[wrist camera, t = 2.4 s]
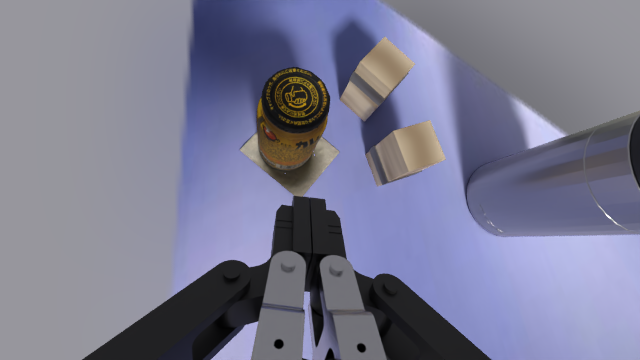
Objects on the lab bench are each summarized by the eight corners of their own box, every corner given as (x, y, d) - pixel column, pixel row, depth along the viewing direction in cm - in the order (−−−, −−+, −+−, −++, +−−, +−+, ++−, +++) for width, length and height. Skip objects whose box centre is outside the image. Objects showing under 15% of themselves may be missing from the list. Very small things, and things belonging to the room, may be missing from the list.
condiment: (283, 105, 35) (292, 39, 24) (339, 152, 36) (375, 109, 24) (239, 150, 34) (226, 102, 22) (299, 200, 34) (317, 179, 22)
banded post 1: (359, 77, 38) (384, 35, 30) (385, 100, 38) (416, 64, 30) (338, 99, 37) (358, 61, 29) (364, 123, 37) (391, 91, 29)
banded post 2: (395, 144, 37) (430, 119, 29) (408, 177, 36) (447, 160, 29) (364, 153, 36) (391, 130, 28) (376, 187, 36) (408, 172, 28)
